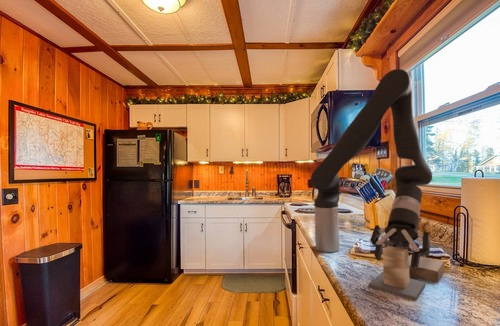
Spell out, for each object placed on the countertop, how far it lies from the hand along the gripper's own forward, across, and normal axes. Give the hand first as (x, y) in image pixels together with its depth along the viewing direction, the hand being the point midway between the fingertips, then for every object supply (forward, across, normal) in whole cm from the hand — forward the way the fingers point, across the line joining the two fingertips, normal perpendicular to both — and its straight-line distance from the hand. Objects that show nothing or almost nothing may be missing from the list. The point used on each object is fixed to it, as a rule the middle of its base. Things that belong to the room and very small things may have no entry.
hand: (394, 262), depth 68 cm
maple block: (+3, 0, +5) cm, 6 cm away
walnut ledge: (-7, +3, +16) cm, 18 cm away
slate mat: (+4, 0, +5) cm, 7 cm away
